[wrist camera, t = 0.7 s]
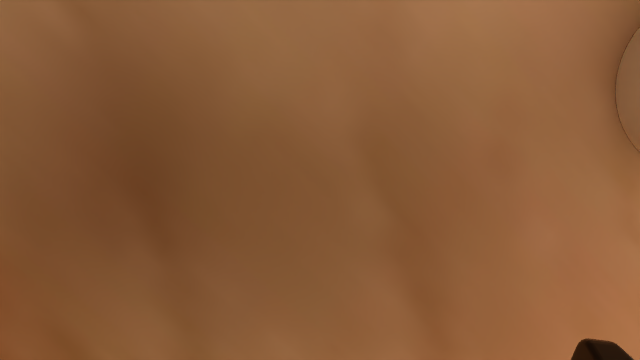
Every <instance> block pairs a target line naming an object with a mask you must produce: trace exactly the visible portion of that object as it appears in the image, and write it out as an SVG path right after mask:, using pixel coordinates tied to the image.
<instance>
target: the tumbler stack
mask: <svg viewBox="0 0 640 360" xmlns="http://www.w3.org/2000/svg"><path fill="white" fill-rule="evenodd" d="M615 95H616V106H617V111H618V115H619V119H620V121H621V124H622V127H623V129H624V131H625V133H626V135H627V136H628V138H629V140H630V141H631V142H632V144H633V145H634V146H635V148H636V149H637V150H638V151H639V152H640V27H639V29H638V30H637V31H636V32H635V34H634V35H633V37H632V38H631V40H630V42H629V43H628V45H627V47H626V49H625V51H624V54H623V56H622V59H621V62H620V65H619V68H618V73H617V78H616V90H615Z"/></svg>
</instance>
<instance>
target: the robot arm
mask: <svg viewBox="0 0 640 360" xmlns="http://www.w3.org/2000/svg"><path fill="white" fill-rule="evenodd" d="M571 360H634V359H633V358H632V357H630V356H629V355H628V354H627V353H626V352H625V351H624V350H623V349H622V348H621V347H619V346H618V345H617V344H615V343H614V342H610V341H604V340H596V339H583V340H581V341H580V342H579V343H578V345H577V347H576V349H575V351H574V354H573V356H572V358H571Z"/></svg>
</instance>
